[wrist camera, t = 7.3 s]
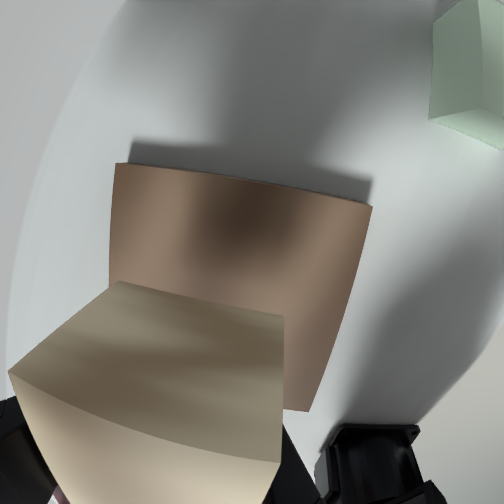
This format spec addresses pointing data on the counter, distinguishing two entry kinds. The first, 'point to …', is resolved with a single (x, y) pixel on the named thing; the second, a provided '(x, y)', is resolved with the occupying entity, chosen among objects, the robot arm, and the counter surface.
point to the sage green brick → (470, 70)
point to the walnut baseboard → (243, 254)
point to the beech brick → (157, 400)
